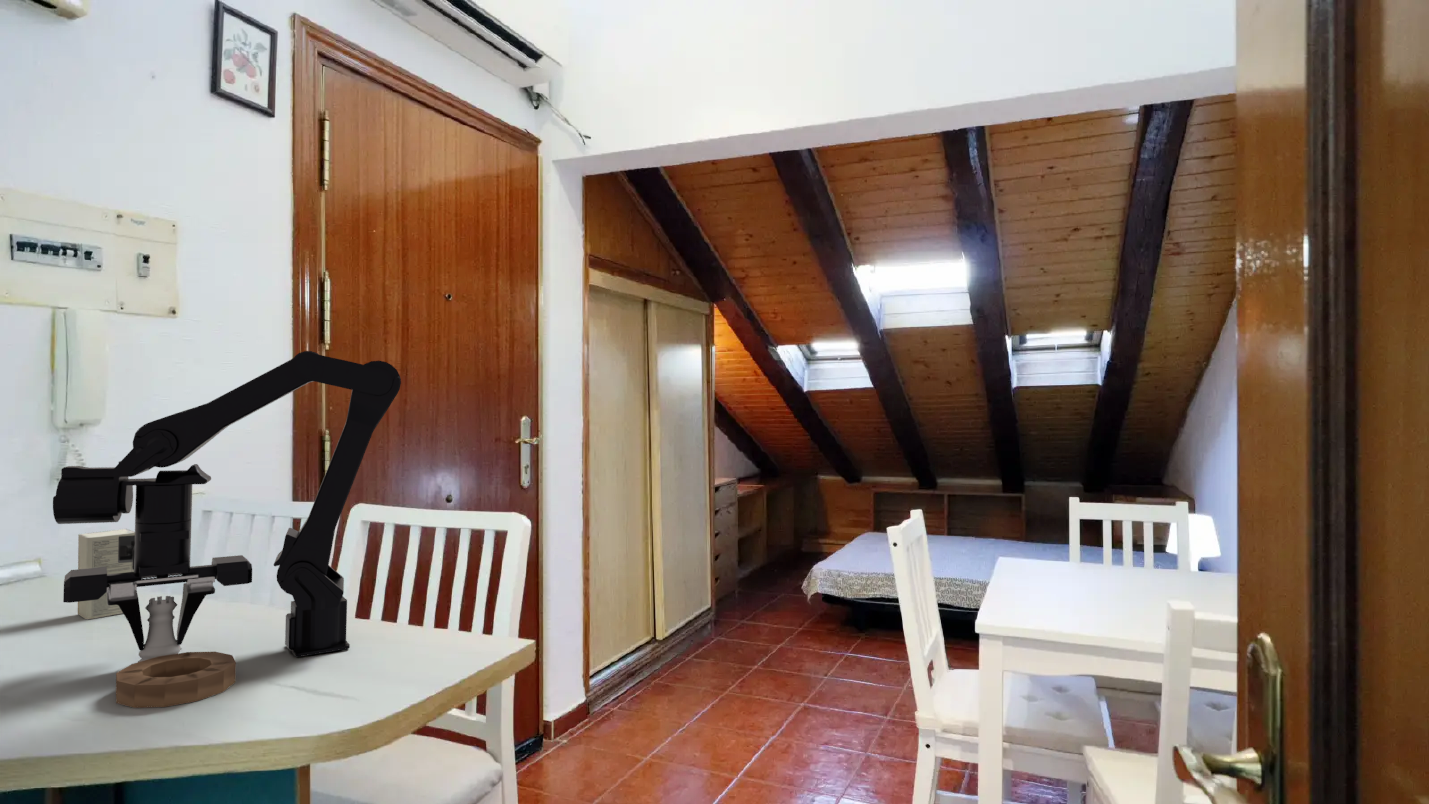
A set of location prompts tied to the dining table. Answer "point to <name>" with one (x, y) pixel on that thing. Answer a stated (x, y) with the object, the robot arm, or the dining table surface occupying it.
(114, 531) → the skincare box
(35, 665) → the dining table surface
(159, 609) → the rook chess piece
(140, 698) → the walnut bead ring
